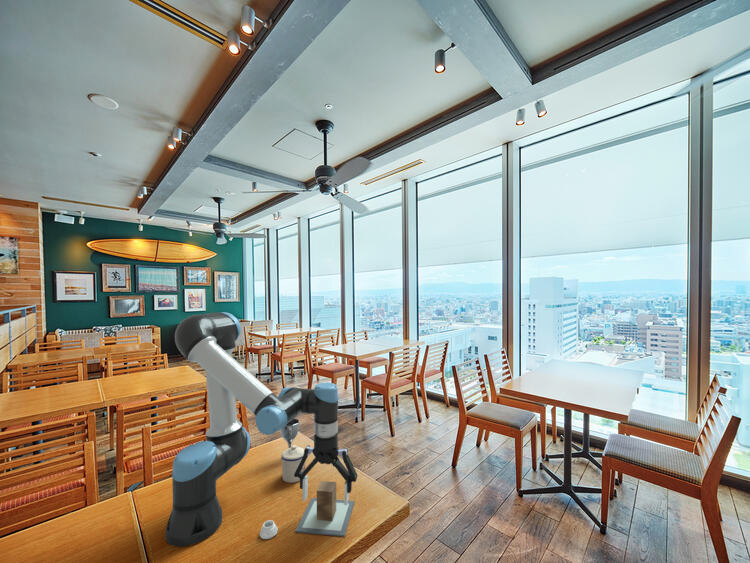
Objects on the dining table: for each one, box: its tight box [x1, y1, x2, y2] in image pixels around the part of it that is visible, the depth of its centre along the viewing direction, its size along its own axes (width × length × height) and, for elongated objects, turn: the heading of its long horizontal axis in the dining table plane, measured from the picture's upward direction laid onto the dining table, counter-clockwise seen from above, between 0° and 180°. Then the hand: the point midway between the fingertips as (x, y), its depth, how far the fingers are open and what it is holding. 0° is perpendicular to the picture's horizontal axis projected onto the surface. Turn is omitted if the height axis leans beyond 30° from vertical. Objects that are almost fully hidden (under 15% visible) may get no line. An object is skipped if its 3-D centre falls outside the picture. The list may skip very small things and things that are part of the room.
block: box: [316, 480, 337, 521], centre depth 101 cm, size 5×5×9 cm
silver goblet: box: [279, 417, 300, 460], centre depth 137 cm, size 8×8×15 cm
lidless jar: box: [259, 519, 279, 540], centre depth 94 cm, size 5×3×5 cm
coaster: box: [295, 497, 355, 537], centre depth 101 cm, size 15×15×1 cm
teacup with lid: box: [281, 444, 306, 484], centre depth 124 cm, size 12×9×12 cm
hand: (325, 500), depth 101 cm, fingers open, 13 cm apart
